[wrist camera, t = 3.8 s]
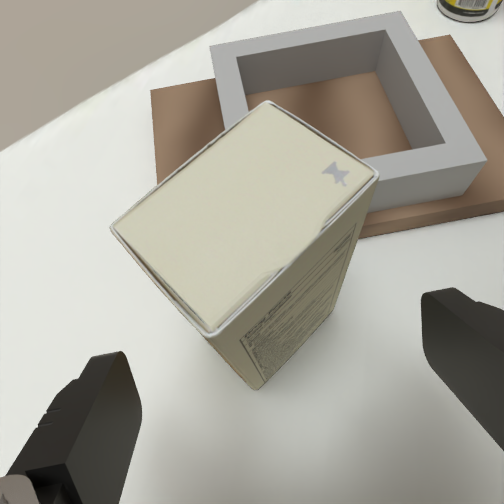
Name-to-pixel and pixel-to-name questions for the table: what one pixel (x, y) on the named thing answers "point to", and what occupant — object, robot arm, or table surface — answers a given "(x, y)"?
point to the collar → (395, 86)
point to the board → (350, 130)
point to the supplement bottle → (469, 9)
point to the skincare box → (254, 236)
